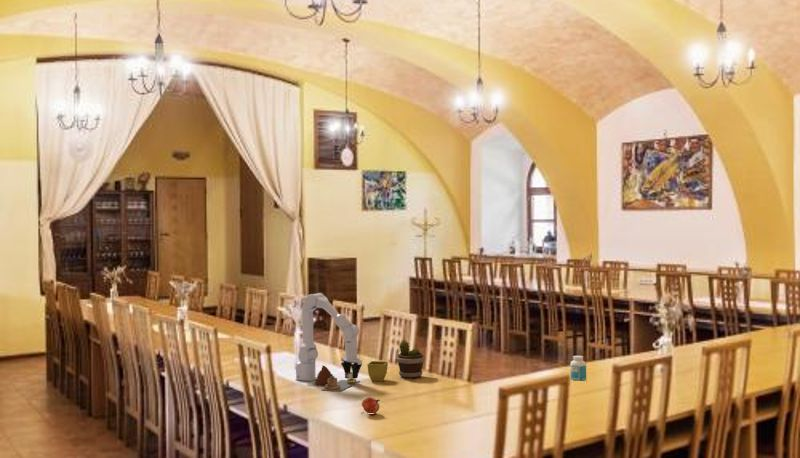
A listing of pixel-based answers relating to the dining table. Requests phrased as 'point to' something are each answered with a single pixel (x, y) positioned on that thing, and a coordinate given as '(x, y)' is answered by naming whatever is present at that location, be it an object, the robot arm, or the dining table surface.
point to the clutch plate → (348, 375)
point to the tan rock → (332, 383)
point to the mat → (341, 386)
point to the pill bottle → (578, 369)
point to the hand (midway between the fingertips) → (351, 377)
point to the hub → (351, 380)
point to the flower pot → (377, 370)
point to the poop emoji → (323, 376)
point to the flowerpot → (409, 361)
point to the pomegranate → (370, 405)
